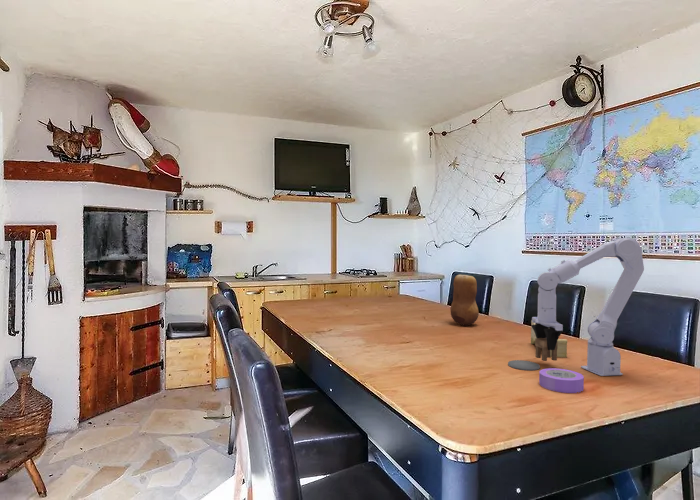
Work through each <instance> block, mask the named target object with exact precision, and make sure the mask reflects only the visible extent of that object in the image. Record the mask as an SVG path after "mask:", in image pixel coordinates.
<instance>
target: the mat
mask: <svg viewBox="0 0 700 500" xmlns="http://www.w3.org/2000/svg"><path fill="white" fill-rule="evenodd" d="M507 365H508V367H510V368H512V369H515V370H521V371H529V372H530V371H537V370H541V366H540V364H538V363H537V362H534V361H530V360H524V359H523V360H522V359H515V360H509V361H508V362H507Z"/></svg>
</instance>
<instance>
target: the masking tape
mask: <svg viewBox="0 0 700 500" xmlns="http://www.w3.org/2000/svg"><path fill="white" fill-rule="evenodd" d="M538 372H539V374H538V375H539V376H538V377H539V378H538V380H539V382H538V383H539V385H540V386H541V387H542V388H544V389H546V390H550V391H551V392H552V391H553V392H558V393H564V394H565V393H566V394H578V393H582V392H583V391H584V384H585V383H584V379H585V377H584V375H583V374H582V373H580V372H577V371H574V370H570V369H566V368H565V369H564V368H555V367H553V368H552V367H548V368H543V369H539V371H538ZM581 391H582V392H581ZM577 392H578V393H577Z"/></svg>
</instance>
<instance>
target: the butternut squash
mask: <svg viewBox="0 0 700 500" xmlns="http://www.w3.org/2000/svg"><path fill="white" fill-rule="evenodd" d="M477 282H478V281H477V279H476V278H475V277H474V276H473V275H468V274H457V275H455V277H454V279H453V293H452V295H453V296H452V297H453V298H452V302H451V304H450V315H451V318H452V320H453V322H455V323H457V324H459V325H460V326H466V327H468V326H469V325H473V324H474V323H476V321H477V320H478V318H479V315H480V313H479V307H478V305H477V301H476V297H477V293H478V289H477V288H478V285H477Z"/></svg>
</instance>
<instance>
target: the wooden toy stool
mask: <svg viewBox="0 0 700 500" xmlns="http://www.w3.org/2000/svg"><path fill="white" fill-rule="evenodd" d="M534 345H535V358H537V359H541V361H543V362H547V361H548V358H549V359H550V358H551V359H550V360H551V361H555V362H556V361H558V357H557V349H558V341H557V343H556V347H555V350H552V354H551V357H550V351H551V350H548V347H547V338H535V344H534Z"/></svg>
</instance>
